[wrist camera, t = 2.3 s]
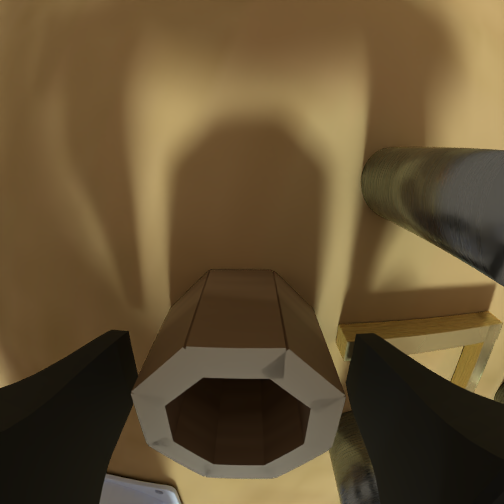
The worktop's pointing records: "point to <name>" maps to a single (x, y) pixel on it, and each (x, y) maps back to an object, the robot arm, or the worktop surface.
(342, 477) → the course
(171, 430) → the octagonal hollow tube
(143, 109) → the worktop surface
